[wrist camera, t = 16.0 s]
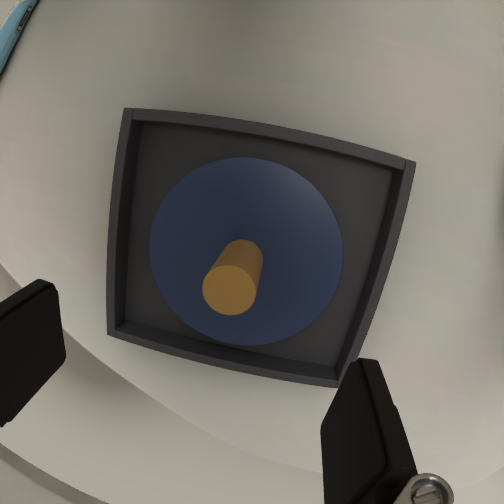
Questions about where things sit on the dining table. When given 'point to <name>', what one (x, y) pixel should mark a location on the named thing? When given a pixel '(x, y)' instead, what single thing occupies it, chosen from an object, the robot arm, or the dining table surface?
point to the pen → (13, 28)
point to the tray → (283, 152)
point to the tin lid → (246, 251)
